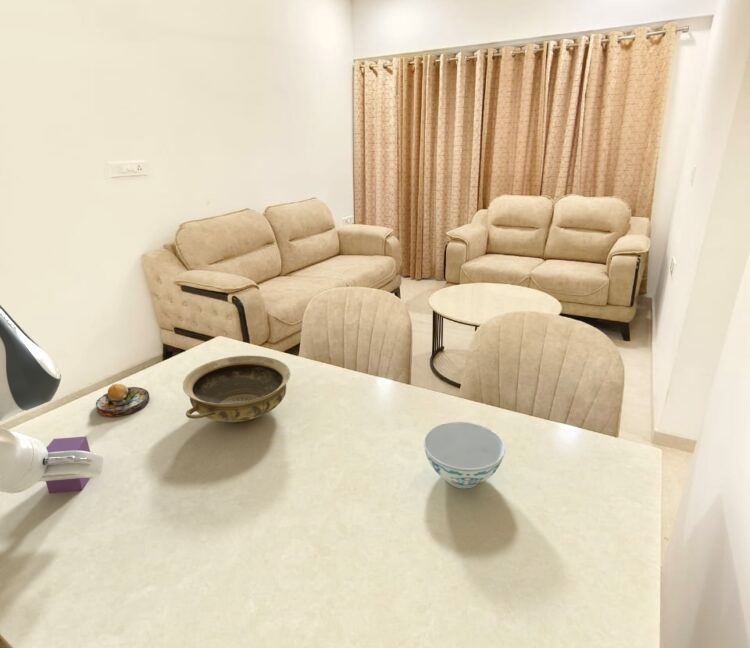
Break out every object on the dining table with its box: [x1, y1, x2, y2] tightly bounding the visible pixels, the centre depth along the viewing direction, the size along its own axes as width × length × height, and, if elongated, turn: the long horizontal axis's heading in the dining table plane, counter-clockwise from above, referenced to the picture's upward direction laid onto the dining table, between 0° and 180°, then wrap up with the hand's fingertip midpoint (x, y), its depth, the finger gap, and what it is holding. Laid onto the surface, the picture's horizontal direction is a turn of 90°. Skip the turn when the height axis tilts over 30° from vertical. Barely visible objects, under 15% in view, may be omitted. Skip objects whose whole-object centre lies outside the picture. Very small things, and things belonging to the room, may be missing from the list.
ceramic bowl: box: [182, 354, 291, 423], centre depth 117 cm, size 30×24×10 cm
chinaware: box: [423, 421, 506, 489], centre depth 95 cm, size 15×15×8 cm
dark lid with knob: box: [95, 383, 150, 417], centre depth 122 cm, size 12×12×8 cm
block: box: [45, 435, 91, 494], centre depth 96 cm, size 6×6×8 cm
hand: (58, 474), depth 92 cm, fingers closed, pressing on block
